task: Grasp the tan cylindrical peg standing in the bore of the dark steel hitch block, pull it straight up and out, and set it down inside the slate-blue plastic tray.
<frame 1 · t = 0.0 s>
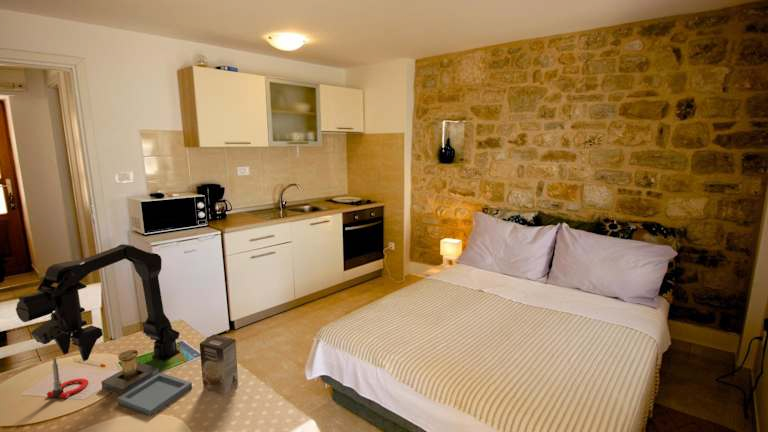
hand: (75, 357, 113), 15 cm above the table, fingers open, 9 cm apart
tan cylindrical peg: (129, 368, 124), in the hitch block
coffee box: (221, 387, 123), on the table
tray: (156, 395, 118), on the table
hitch block: (131, 381, 125), on the table
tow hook: (70, 390, 121), on the table
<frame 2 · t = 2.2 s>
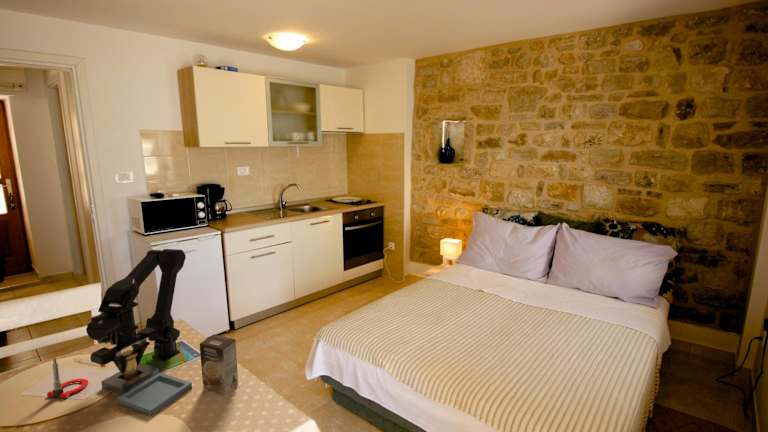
hand: (129, 369, 124), 5 cm above the table, fingers closed on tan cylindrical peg, 4 cm apart
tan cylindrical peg: (129, 368, 124), in the hitch block, touching gripper
everything else where it was.
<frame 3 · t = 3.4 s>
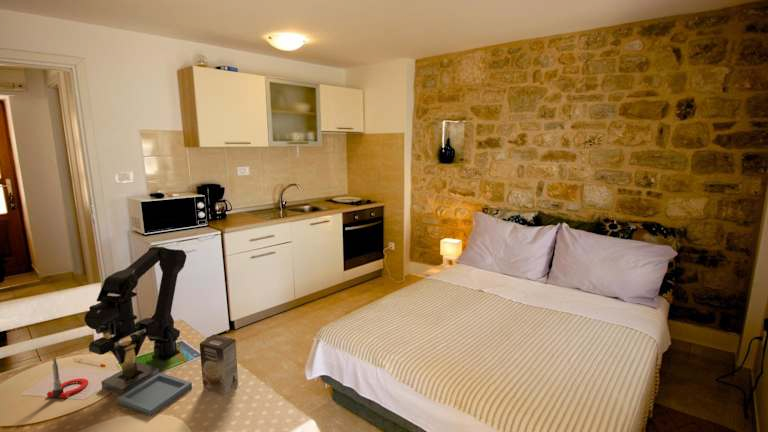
hand: (128, 359, 124), 8 cm above the table, fingers closed on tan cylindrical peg, 4 cm apart
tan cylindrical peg: (128, 358, 124), point 8 cm above the table, touching gripper
everything else where it was.
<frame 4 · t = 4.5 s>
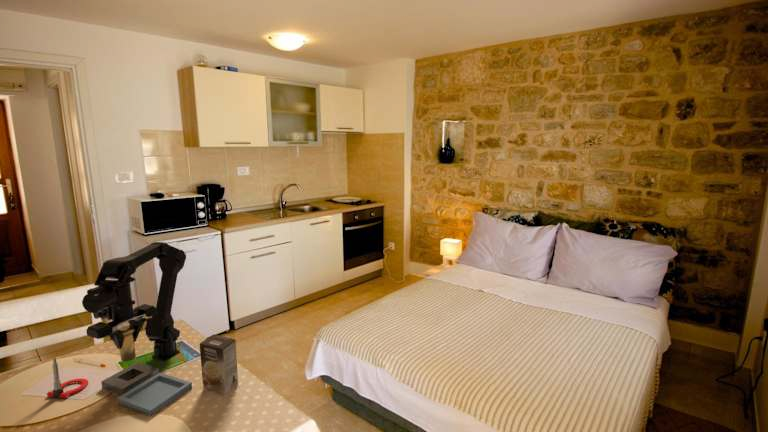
hand: (126, 345, 123), 13 cm above the table, fingers closed on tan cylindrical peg, 4 cm apart
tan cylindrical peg: (126, 344, 123), point 13 cm above the table, touching gripper
everything else where it was.
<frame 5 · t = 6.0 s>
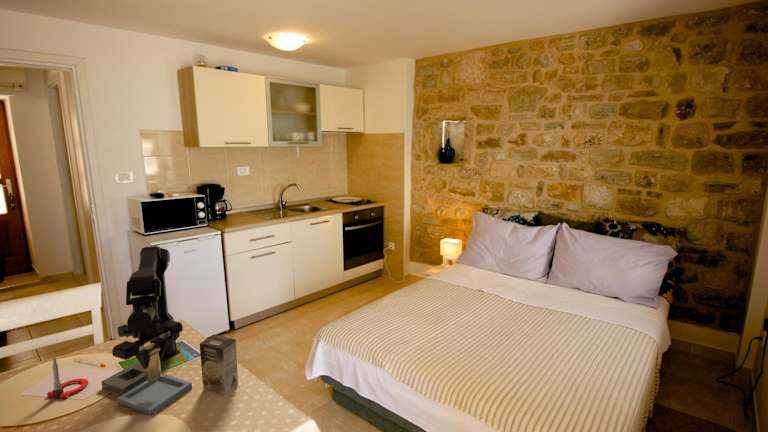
hand: (152, 364, 116), 11 cm above the table, fingers closed on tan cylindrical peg, 4 cm apart
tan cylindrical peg: (152, 363, 116), point 11 cm above the table, touching gripper
everything else where it was.
when the fingers open (7 cm above the table, at t = 6.9 s): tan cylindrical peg drops 2 cm, resting on tray.
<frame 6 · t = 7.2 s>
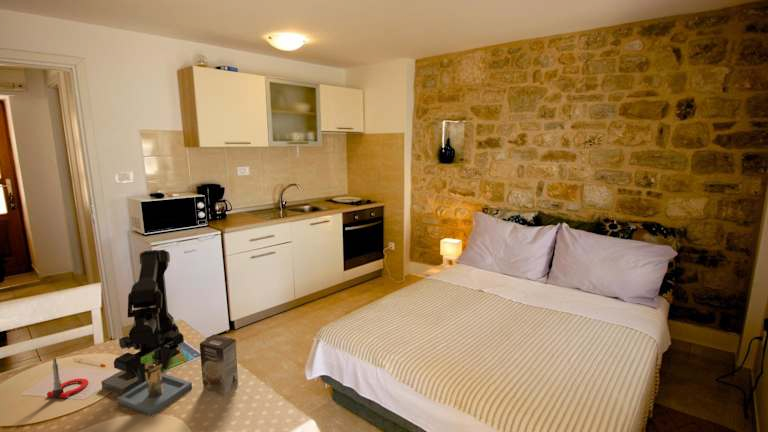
hand: (153, 375, 117), 7 cm above the table, fingers open, 7 cm apart
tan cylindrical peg: (154, 379, 117), in the tray, point 6 cm above the table
everything else where it was.
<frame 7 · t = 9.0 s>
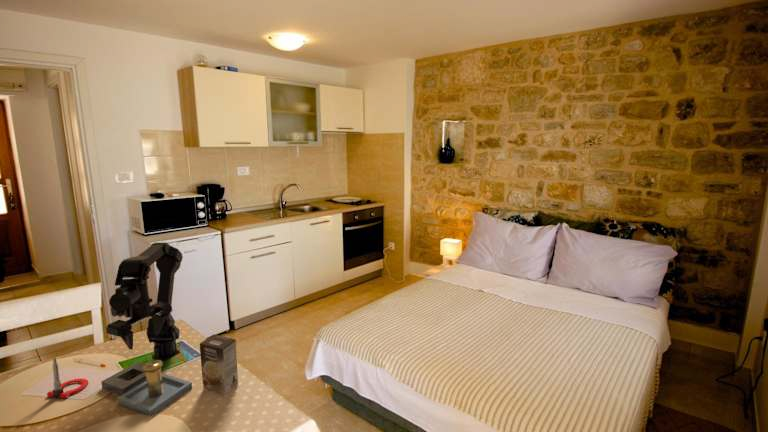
hand: (144, 341, 125), 13 cm above the table, fingers open, 9 cm apart
nothing on the table moved.
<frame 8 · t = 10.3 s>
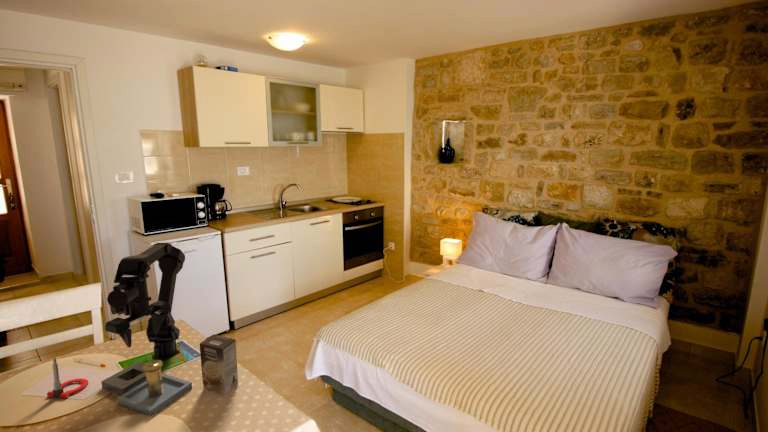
hand: (143, 340, 126), 13 cm above the table, fingers open, 9 cm apart
nothing on the table moved.
at the end: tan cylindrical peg inside the target area on the tray (0.1 cm from its centre), point 5.7 cm above the tray's base; the gripper is holding nothing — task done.
